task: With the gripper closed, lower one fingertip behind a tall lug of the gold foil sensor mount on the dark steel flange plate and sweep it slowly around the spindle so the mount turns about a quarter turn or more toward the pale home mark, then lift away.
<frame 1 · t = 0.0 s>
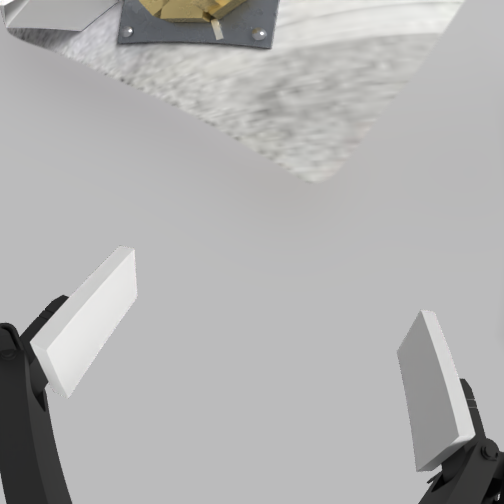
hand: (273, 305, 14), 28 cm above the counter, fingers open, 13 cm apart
milk carton: (92, 1, 30), on the counter
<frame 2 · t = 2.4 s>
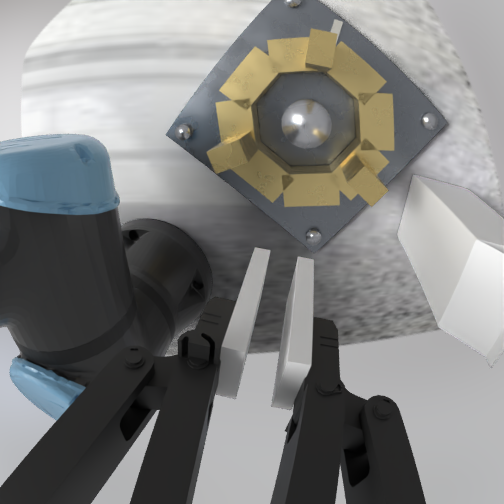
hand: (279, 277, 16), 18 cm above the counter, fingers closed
milk carton: (432, 210, 31), on the counter
flange plate: (306, 118, 29), on the counter
gold foil sensor mount: (306, 123, 24), point 5 cm above the counter, hinge at 0.0°
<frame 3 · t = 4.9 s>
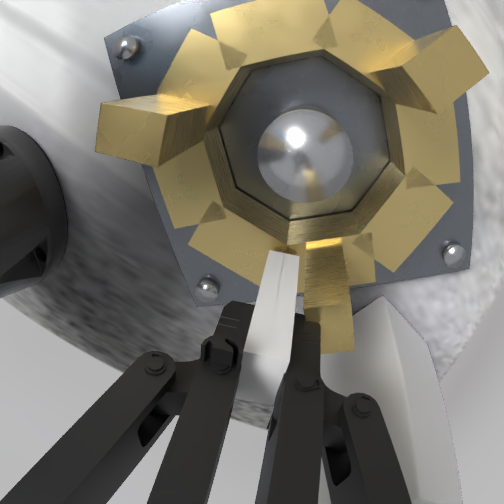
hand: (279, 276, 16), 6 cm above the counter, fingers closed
milk carton: (370, 341, 24), on the counter
flange plate: (305, 137, 17), on the counter
gold foil sensor mount: (305, 156, 13), point 5 cm above the counter, hinge at 0.0°, touching gripper
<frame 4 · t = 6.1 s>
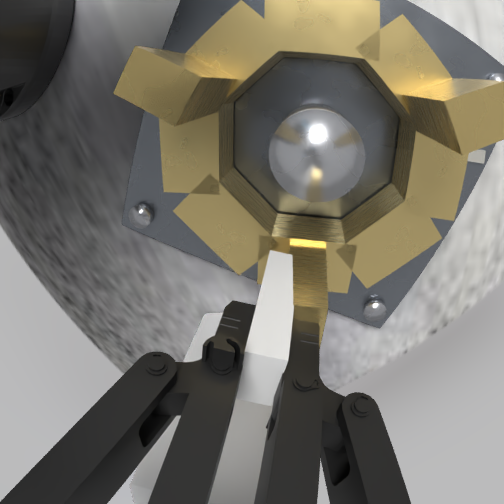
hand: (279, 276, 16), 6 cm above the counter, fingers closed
milk carton: (257, 340, 26), on the counter
flange plate: (315, 137, 17), on the counter
gold foil sensor mount: (317, 155, 13), point 5 cm above the counter, hinge at 18.9°, touching gripper
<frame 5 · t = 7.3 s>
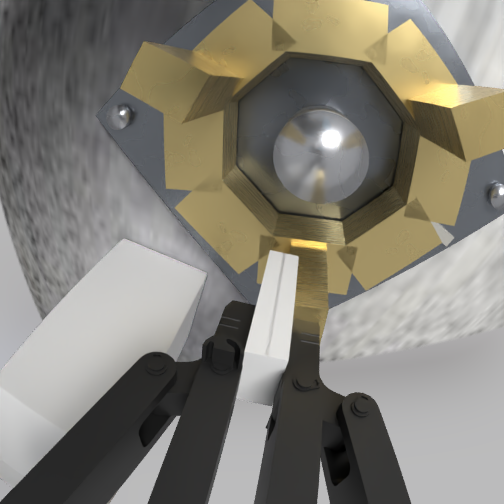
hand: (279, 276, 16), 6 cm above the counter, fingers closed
milk carton: (158, 287, 25), on the counter
flange plate: (318, 138, 17), on the counter
gold foil sensor mount: (321, 157, 13), point 5 cm above the counter, hinge at 50.0°, touching gripper
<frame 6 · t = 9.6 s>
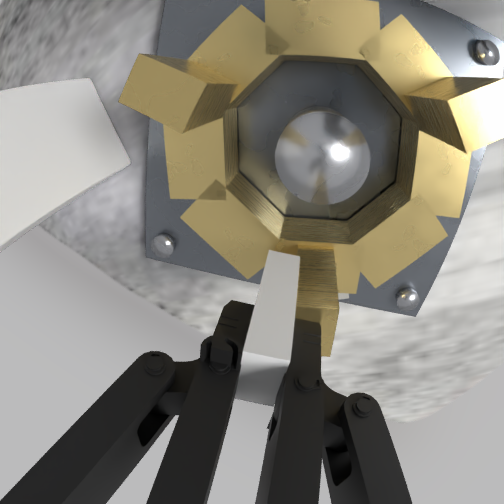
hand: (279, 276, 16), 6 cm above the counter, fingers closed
milk carton: (80, 142, 20), on the counter
flange plate: (319, 139, 17), on the counter
gold foil sensor mount: (322, 158, 13), point 5 cm above the counter, hinge at 99.9°, touching gripper
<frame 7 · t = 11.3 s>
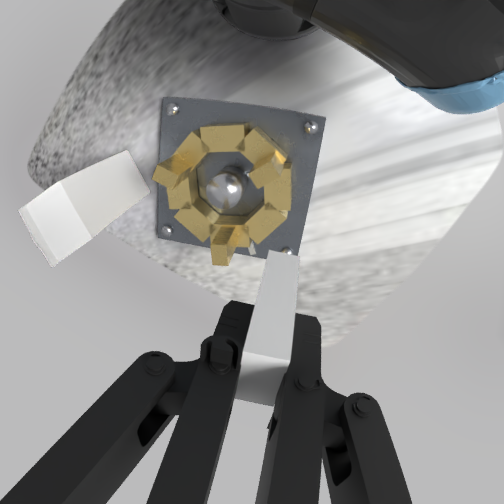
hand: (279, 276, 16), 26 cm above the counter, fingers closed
milk carton: (122, 180, 43), on the counter
flange plate: (233, 179, 41), on the counter
gold foil sensor mount: (223, 192, 36), point 5 cm above the counter, hinge at 99.9°
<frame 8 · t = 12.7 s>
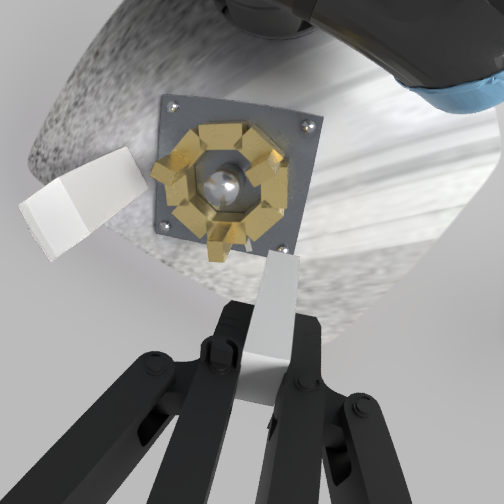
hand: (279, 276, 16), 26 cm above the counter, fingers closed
milk carton: (121, 176, 44), on the counter
flange plate: (231, 177, 41), on the counter
gold foil sensor mount: (220, 189, 37), point 5 cm above the counter, hinge at 99.9°
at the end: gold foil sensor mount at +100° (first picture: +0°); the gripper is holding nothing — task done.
